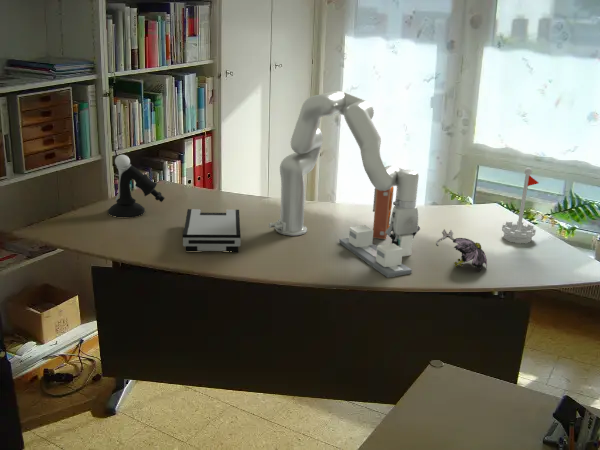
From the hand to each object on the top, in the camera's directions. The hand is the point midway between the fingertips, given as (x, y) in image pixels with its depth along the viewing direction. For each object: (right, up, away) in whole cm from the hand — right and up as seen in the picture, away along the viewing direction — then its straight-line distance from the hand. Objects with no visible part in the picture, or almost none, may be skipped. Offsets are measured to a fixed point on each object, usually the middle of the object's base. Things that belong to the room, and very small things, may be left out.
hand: (401, 248), depth 262 cm
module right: (-7, -5, -13) cm, 16 cm away
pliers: (+20, +3, +18) cm, 27 cm away
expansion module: (0, -2, +1) cm, 2 cm away
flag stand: (+51, +3, +21) cm, 55 cm away
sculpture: (-108, +14, +32) cm, 113 cm away
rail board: (-11, -3, -4) cm, 12 cm away
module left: (-15, +2, +3) cm, 16 cm away
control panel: (-6, +5, +20) cm, 21 cm away
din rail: (-11, -2, -5) cm, 12 cm away
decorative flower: (+23, -7, -9) cm, 26 cm away
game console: (-72, +3, +7) cm, 73 cm away
